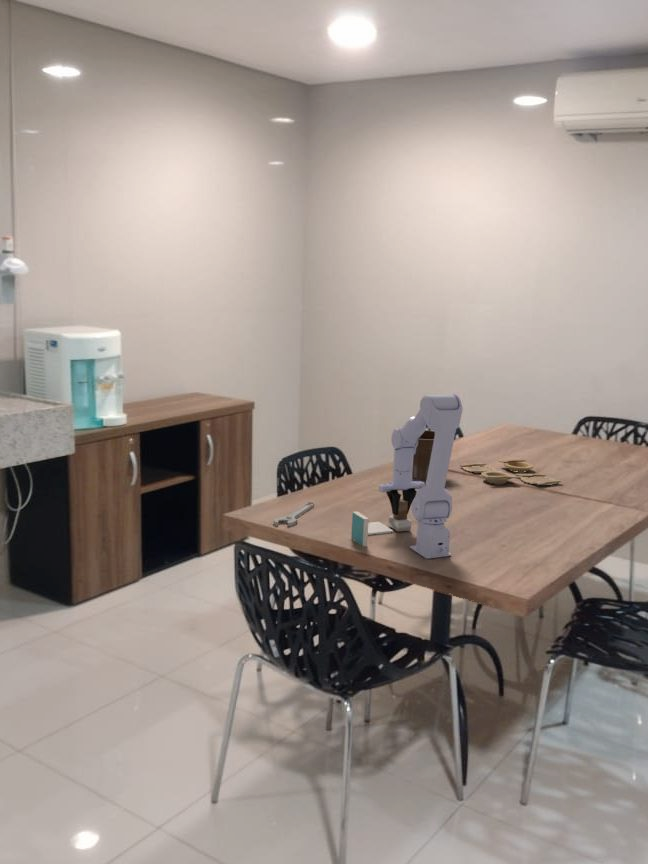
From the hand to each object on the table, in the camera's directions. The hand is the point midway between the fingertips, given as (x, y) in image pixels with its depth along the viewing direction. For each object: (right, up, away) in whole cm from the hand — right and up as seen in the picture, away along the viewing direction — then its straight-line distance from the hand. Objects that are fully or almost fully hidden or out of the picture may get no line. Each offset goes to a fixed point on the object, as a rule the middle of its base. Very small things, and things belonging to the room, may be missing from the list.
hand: (400, 513), depth 250 cm
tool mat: (-8, -5, -1) cm, 10 cm away
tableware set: (+48, +7, +70) cm, 85 cm away
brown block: (0, -4, +1) cm, 4 cm away
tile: (-13, -7, -12) cm, 19 cm away
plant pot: (+14, +7, +65) cm, 67 cm away
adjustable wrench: (-31, -2, +10) cm, 32 cm away
